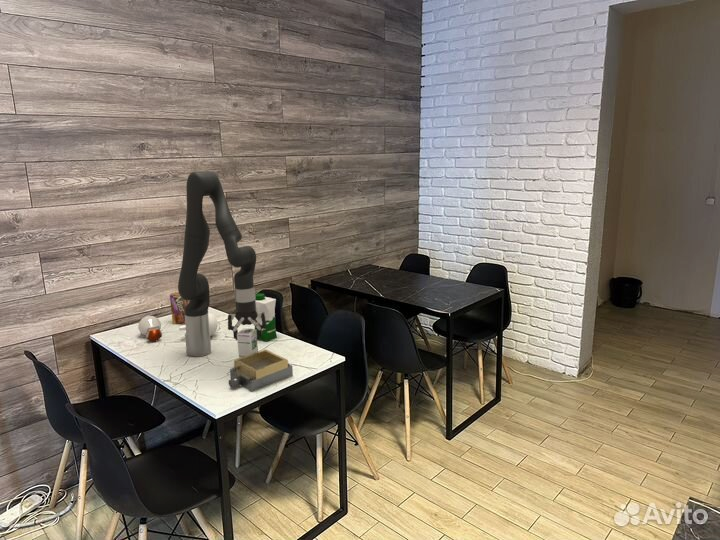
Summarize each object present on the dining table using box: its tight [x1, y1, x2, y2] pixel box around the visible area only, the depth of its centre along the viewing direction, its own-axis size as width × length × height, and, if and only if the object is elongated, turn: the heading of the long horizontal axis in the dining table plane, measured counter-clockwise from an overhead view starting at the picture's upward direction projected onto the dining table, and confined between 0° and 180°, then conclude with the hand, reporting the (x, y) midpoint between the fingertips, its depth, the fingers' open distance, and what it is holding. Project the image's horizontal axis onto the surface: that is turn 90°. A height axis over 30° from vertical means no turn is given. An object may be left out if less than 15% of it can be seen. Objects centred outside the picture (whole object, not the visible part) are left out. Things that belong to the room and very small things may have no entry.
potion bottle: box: [137, 315, 163, 343], centre depth 225 cm, size 9×10×15 cm
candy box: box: [169, 291, 190, 325], centre depth 242 cm, size 9×4×15 cm, turn 85°
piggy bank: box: [178, 312, 219, 337], centre depth 225 cm, size 12×12×15 cm
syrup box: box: [236, 327, 259, 359], centre depth 195 cm, size 6×6×14 cm
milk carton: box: [254, 292, 278, 343], centre depth 222 cm, size 9×9×20 cm
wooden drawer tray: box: [228, 349, 294, 392], centre depth 184 cm, size 22×14×7 cm, turn 135°
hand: (248, 339), depth 194 cm, fingers open, 8 cm apart
